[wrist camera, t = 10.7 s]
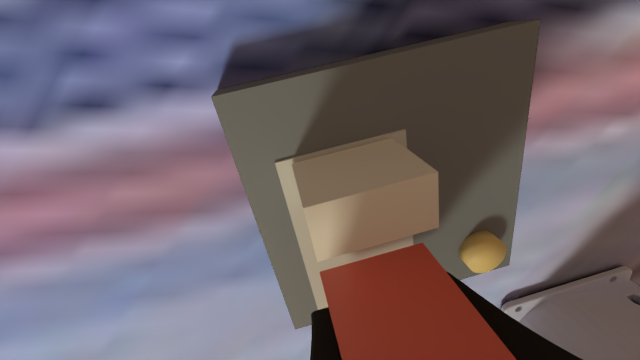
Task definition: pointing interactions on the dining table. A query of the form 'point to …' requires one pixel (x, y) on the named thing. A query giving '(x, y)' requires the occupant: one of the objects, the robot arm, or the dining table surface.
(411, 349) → the block
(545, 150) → the dining table surface
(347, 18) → the dining table surface
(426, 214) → the switch handle
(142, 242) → the dining table surface
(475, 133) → the panel
